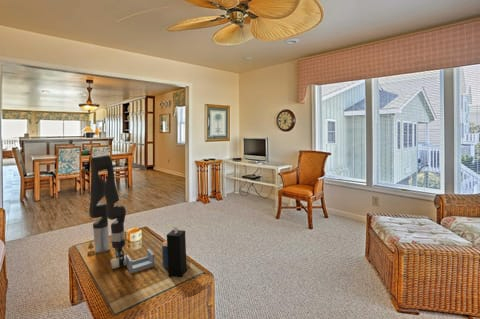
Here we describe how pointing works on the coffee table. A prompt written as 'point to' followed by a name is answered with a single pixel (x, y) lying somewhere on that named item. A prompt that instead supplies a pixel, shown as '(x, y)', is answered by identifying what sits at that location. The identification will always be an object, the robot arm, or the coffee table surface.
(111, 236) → the robot arm
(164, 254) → the canister
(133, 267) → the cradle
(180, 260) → the long black block
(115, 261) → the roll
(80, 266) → the coffee table surface
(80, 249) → the coffee table surface
